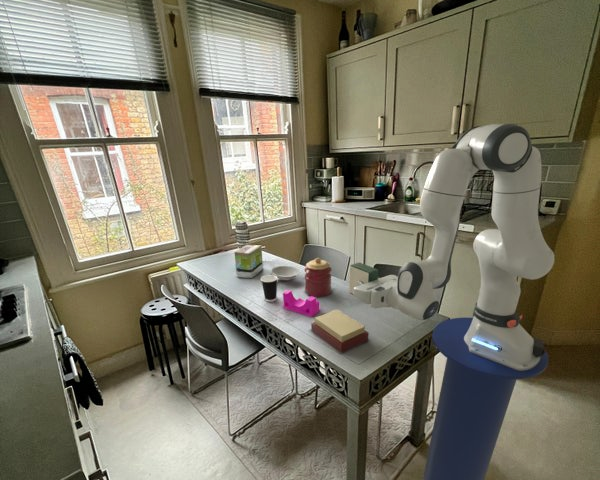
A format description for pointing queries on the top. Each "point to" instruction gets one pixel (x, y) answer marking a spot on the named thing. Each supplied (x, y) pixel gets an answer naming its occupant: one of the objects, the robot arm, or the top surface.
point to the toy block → (300, 304)
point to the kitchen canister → (318, 278)
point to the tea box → (248, 261)
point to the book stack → (339, 330)
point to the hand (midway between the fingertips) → (363, 280)
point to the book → (361, 275)
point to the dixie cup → (269, 287)
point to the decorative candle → (242, 234)
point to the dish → (285, 272)
